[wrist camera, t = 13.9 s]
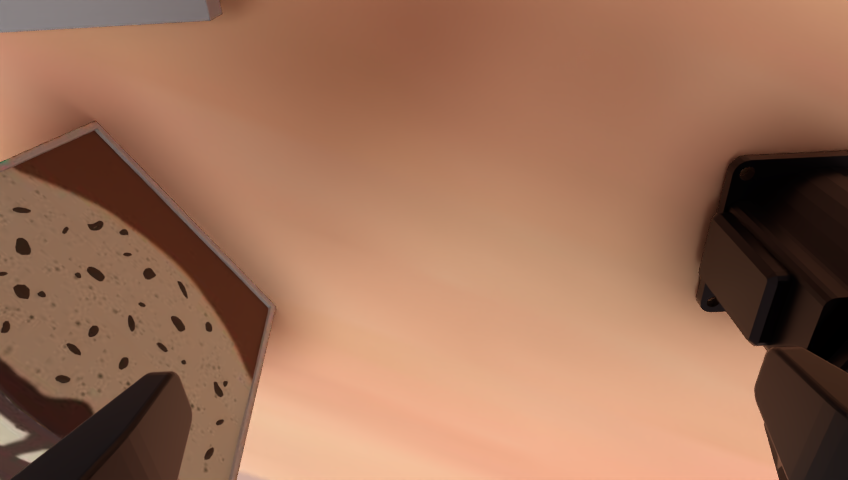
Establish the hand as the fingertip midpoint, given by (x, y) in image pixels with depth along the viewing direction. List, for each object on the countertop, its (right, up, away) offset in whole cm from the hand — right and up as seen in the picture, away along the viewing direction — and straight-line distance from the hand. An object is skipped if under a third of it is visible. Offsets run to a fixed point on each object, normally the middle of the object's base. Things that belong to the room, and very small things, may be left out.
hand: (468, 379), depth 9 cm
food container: (-12, +1, +13) cm, 18 cm away
